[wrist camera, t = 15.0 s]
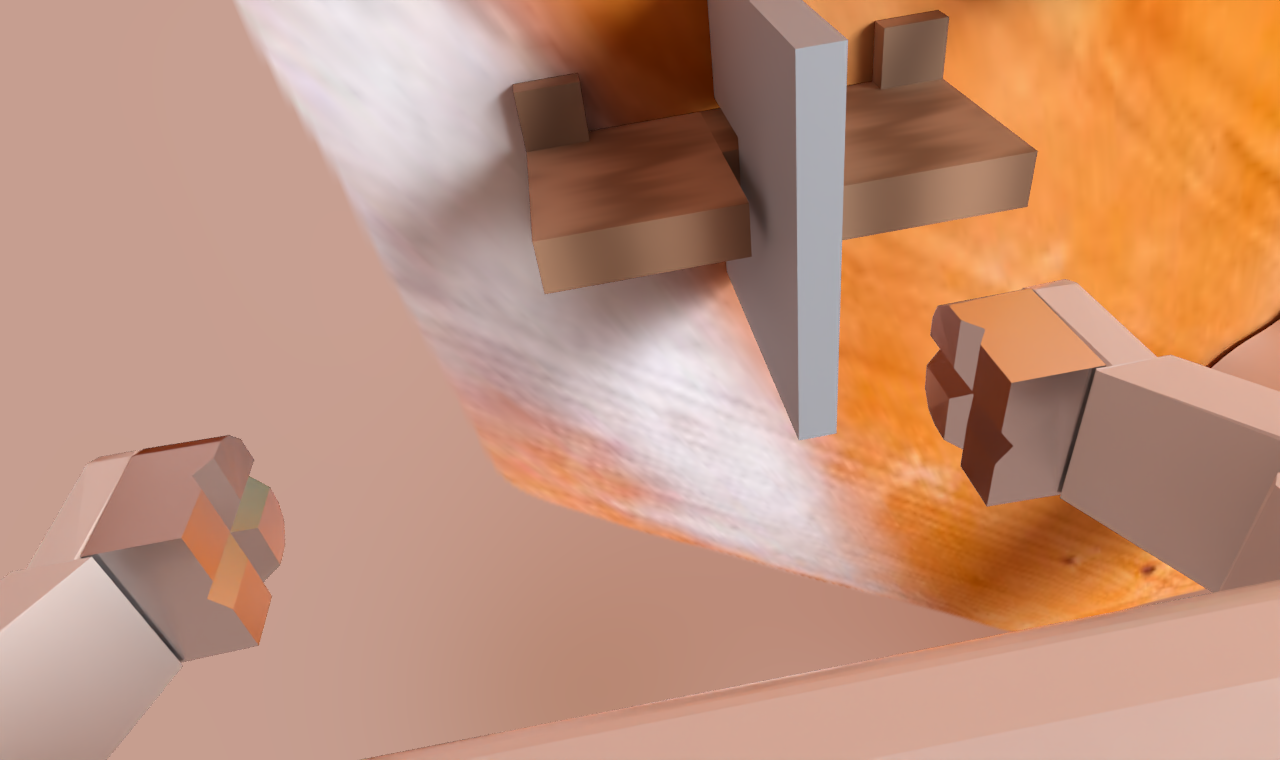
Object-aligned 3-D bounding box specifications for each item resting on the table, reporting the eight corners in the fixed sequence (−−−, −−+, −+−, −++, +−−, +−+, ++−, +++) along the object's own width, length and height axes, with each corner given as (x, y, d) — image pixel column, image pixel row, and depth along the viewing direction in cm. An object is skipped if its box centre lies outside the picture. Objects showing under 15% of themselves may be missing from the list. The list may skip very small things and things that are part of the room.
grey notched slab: (755, 266, 46) (836, 433, 35) (726, 271, 45) (798, 440, 35) (740, -53, 36) (847, 39, 25) (704, -47, 36) (795, 49, 25)
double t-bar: (938, 10, 38) (1050, 79, 30) (923, 170, 43) (1016, 265, 35) (512, 84, 38) (516, 174, 30) (547, 237, 43) (557, 349, 35)
